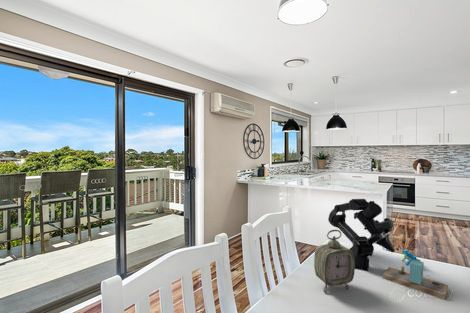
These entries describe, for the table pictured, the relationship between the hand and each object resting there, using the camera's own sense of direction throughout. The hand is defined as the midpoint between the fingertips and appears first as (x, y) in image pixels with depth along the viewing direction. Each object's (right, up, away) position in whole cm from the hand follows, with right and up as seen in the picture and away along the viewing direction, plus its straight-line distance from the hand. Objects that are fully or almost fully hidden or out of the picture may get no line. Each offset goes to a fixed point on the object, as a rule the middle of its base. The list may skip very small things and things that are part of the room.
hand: (393, 251), depth 114 cm
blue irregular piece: (+18, -12, +15) cm, 27 cm away
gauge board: (+7, -13, -4) cm, 15 cm away
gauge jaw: (+7, -10, -5) cm, 13 cm away
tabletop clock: (-31, -13, -7) cm, 34 cm away
